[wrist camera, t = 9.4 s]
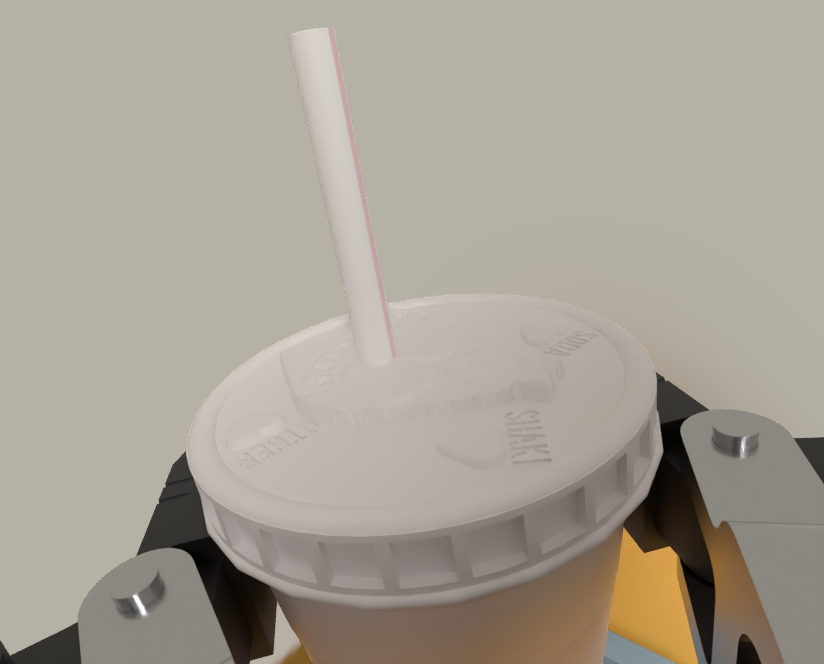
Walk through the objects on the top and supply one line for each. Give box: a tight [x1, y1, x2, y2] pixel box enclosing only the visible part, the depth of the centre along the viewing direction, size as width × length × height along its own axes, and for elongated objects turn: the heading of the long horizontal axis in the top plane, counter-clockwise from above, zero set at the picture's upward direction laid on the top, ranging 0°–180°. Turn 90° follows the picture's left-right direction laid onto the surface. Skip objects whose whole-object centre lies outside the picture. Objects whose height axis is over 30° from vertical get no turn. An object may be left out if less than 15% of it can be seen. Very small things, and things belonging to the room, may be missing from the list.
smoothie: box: [186, 27, 663, 664], centre depth 9 cm, size 6×6×14 cm
